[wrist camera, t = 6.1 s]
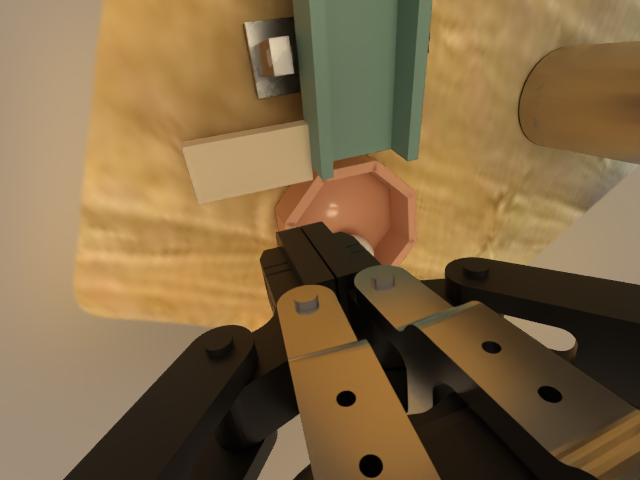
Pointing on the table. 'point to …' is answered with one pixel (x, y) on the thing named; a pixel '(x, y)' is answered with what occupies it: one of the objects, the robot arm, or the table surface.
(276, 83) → the chute stand
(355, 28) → the chute
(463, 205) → the table surface
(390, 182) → the pink octagonal bowl
